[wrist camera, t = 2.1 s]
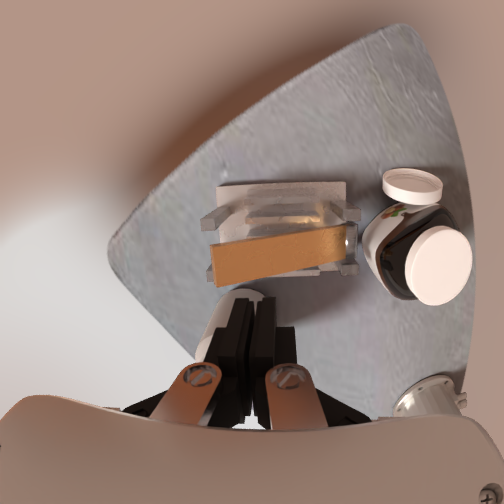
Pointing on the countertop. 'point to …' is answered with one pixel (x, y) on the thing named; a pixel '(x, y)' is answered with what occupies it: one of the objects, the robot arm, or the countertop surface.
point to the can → (223, 317)
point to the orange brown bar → (281, 253)
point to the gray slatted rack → (282, 215)
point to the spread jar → (417, 241)
